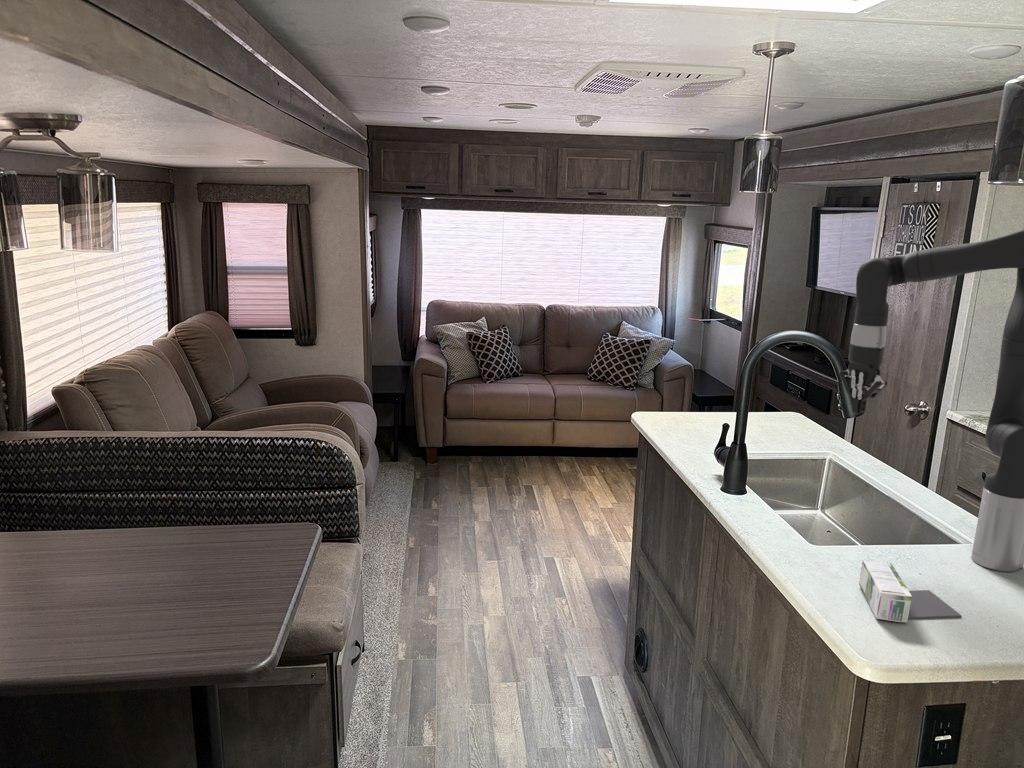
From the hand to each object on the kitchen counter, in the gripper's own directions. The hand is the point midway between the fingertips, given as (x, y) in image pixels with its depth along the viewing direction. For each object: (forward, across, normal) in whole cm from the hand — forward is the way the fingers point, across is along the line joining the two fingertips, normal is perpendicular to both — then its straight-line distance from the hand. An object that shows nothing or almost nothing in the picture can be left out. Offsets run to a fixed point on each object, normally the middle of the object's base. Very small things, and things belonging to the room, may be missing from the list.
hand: (858, 413), depth 184 cm
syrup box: (+26, +28, -19) cm, 42 cm away
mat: (+29, +36, -17) cm, 49 cm away
